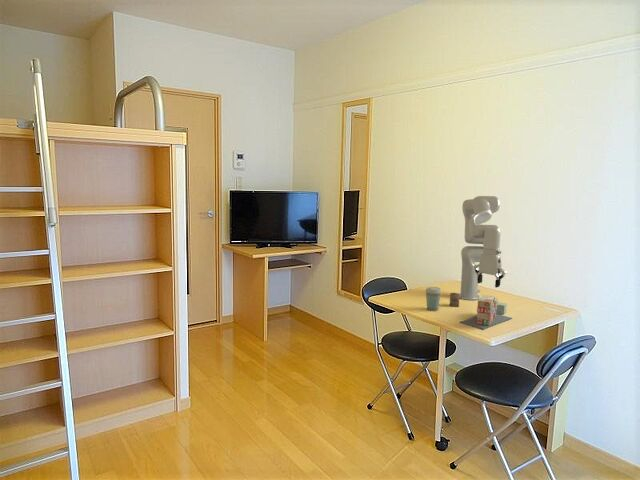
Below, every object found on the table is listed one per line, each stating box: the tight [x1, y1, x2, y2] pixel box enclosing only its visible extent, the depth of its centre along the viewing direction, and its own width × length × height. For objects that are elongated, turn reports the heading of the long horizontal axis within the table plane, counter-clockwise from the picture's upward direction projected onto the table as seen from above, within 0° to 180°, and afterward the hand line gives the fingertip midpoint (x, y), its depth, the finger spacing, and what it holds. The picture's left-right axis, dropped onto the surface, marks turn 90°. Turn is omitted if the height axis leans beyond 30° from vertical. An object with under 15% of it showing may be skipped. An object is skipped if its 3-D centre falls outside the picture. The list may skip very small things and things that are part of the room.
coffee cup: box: [425, 286, 442, 312], centre depth 248 cm, size 8×8×12 cm
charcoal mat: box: [459, 313, 513, 331], centre depth 231 cm, size 27×13×1 cm, turn 129°
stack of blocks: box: [476, 294, 499, 326], centre depth 231 cm, size 21×6×12 cm, turn 150°
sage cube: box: [497, 301, 508, 316], centre depth 245 cm, size 5×5×5 cm
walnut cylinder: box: [449, 292, 460, 308], centre depth 256 cm, size 5×5×7 cm
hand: (488, 284), depth 229 cm, fingers open, 9 cm apart
